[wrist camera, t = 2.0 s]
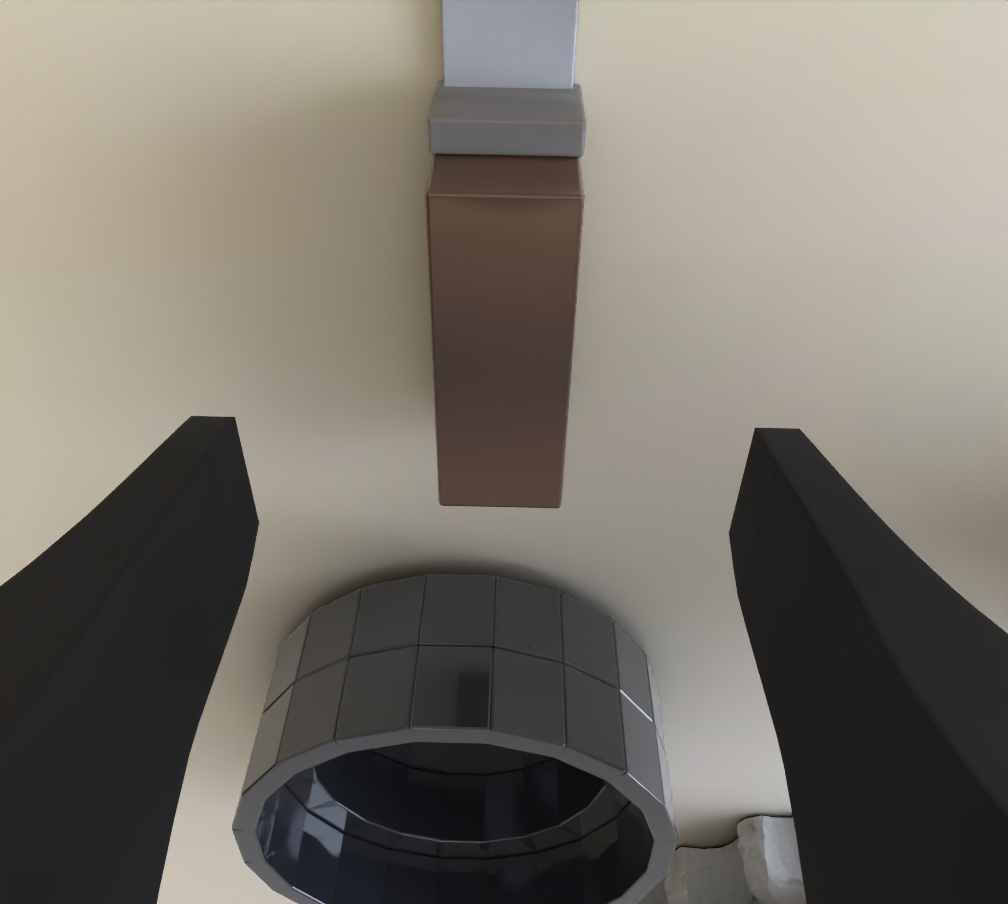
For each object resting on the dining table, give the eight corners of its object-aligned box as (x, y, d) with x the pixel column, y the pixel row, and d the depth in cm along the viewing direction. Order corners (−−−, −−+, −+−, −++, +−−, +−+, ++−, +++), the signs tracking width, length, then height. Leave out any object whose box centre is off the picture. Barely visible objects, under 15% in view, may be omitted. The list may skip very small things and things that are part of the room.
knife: (559, 410, 20) (563, 509, 18) (447, 408, 20) (436, 506, 18) (638, -779, 10) (677, -940, 7) (406, -781, 10) (365, -946, 7)
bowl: (678, 564, 23) (708, 735, 19) (632, 789, 30) (648, 947, 27) (246, 553, 23) (190, 722, 19) (302, 781, 30) (270, 936, 27)
